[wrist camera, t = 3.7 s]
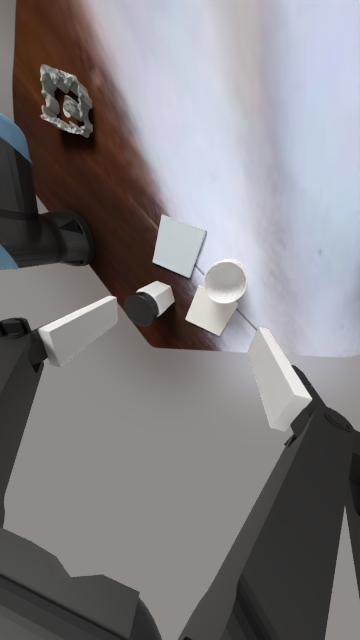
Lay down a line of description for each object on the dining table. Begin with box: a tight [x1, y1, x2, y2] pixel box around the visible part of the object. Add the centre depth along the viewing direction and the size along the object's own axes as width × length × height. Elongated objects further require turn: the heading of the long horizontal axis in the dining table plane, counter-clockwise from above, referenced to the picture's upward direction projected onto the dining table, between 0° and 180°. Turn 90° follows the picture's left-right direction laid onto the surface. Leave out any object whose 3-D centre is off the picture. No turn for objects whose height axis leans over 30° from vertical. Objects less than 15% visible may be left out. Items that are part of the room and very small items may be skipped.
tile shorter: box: [185, 286, 239, 336], centre depth 41 cm, size 11×11×1 cm
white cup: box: [203, 258, 248, 304], centre depth 32 cm, size 8×8×10 cm
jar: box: [124, 281, 175, 326], centre depth 40 cm, size 9×8×12 cm
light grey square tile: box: [153, 215, 206, 278], centre depth 37 cm, size 11×11×1 cm
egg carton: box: [40, 65, 93, 138], centre depth 31 cm, size 11×8×4 cm
